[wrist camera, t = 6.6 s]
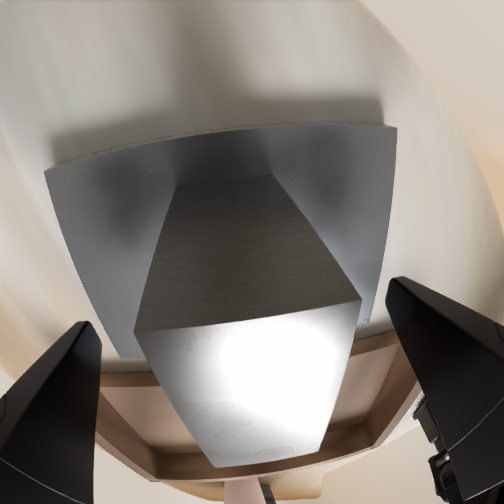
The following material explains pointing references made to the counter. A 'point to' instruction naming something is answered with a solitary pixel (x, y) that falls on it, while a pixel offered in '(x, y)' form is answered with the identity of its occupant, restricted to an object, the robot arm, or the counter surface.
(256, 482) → the smoothie
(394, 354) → the walnut box
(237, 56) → the counter surface
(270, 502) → the beverage cup
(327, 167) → the cover plate
